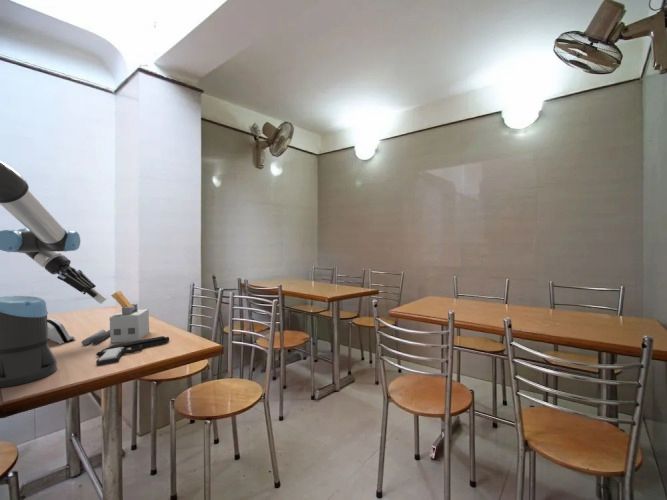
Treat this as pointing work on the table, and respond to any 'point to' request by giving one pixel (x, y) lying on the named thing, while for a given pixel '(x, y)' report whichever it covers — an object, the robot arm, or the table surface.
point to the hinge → (57, 331)
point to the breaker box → (129, 325)
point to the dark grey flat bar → (96, 337)
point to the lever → (122, 300)
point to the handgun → (127, 349)
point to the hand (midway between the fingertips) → (103, 301)
